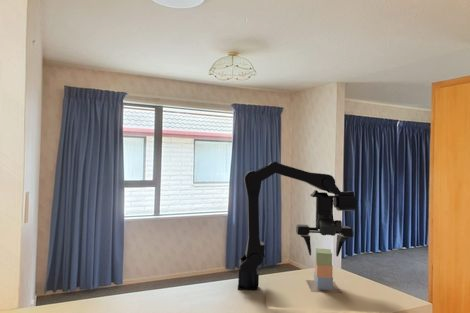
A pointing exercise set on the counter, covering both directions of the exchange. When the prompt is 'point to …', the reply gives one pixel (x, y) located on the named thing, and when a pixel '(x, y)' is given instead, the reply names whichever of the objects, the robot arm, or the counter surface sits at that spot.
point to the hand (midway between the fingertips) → (323, 255)
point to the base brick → (323, 282)
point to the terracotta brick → (323, 271)
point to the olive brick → (323, 257)
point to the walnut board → (314, 289)
